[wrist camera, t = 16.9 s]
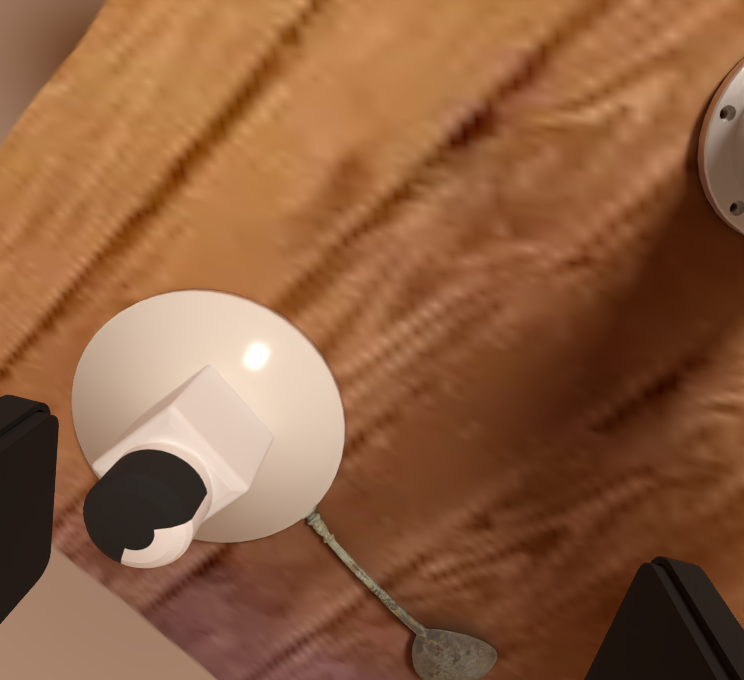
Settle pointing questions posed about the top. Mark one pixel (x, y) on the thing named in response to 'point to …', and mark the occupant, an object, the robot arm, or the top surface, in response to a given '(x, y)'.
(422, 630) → the grey spatula
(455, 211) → the top surface
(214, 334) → the dish
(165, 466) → the medicine bottle
